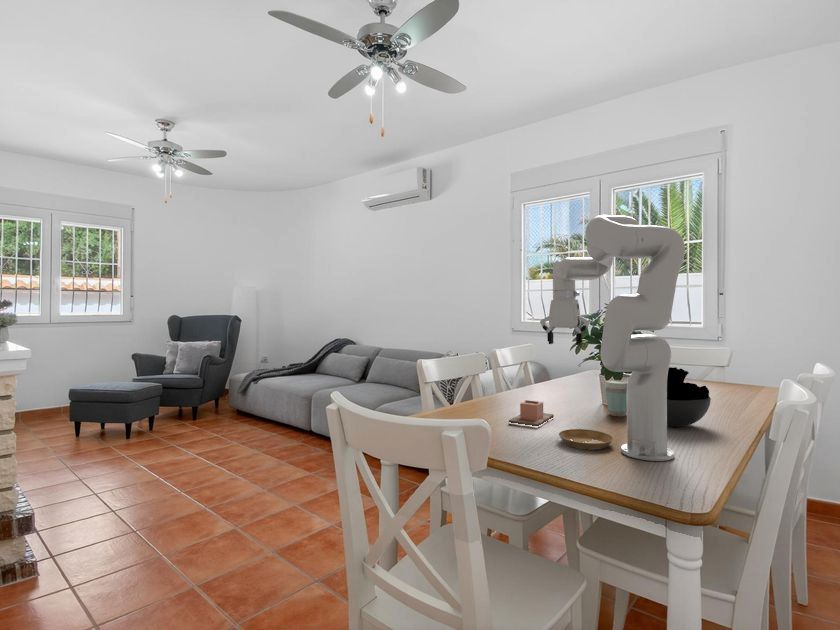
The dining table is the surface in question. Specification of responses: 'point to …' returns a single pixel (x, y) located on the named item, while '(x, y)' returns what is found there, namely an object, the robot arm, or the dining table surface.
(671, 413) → the coal bowl
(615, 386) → the coffee cup
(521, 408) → the salmon pink cube
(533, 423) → the base
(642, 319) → the robot arm
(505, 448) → the dining table surface
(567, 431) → the plant saucer
